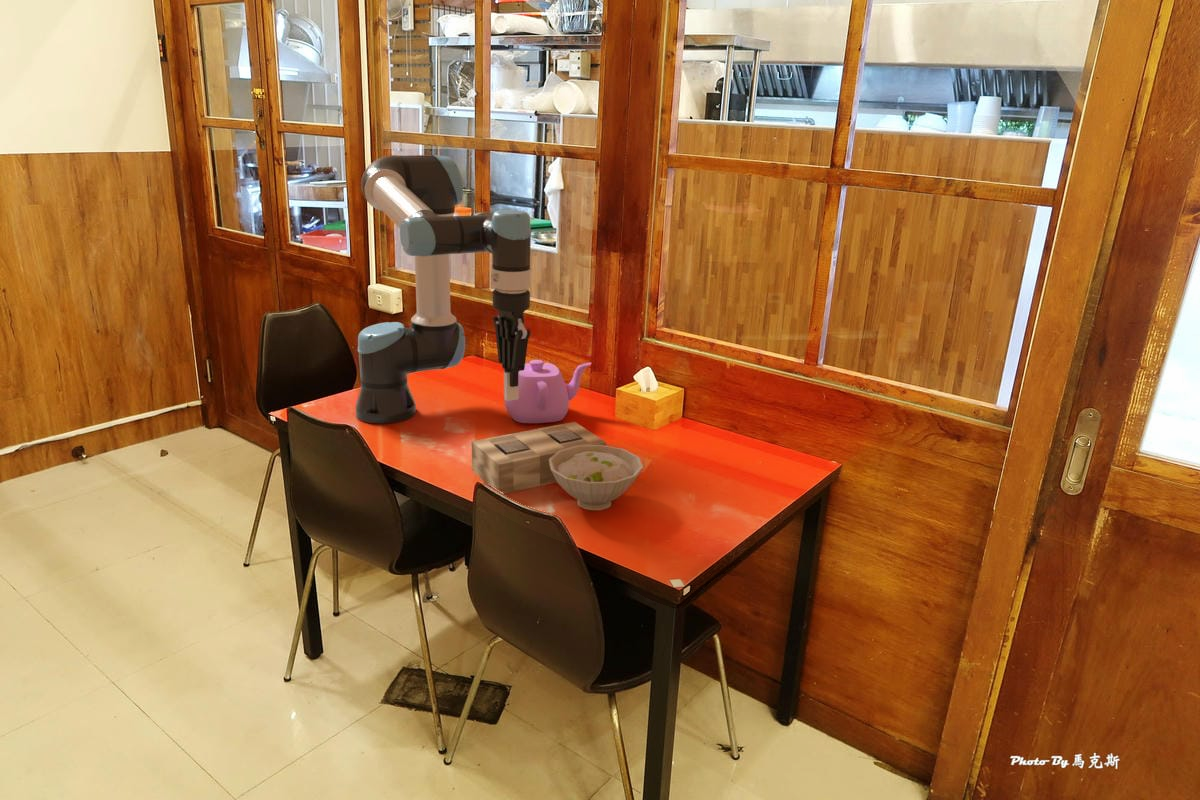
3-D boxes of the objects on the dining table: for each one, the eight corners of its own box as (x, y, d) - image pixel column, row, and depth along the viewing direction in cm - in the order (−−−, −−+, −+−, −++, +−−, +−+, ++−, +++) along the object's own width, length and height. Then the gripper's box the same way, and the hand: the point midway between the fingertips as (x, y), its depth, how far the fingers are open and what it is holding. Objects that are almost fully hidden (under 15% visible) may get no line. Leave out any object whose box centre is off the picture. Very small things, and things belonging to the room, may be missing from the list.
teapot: (511, 435, 197) (510, 377, 192) (501, 406, 216) (500, 352, 211) (600, 430, 202) (602, 373, 197) (583, 402, 221) (584, 349, 216)
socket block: (472, 470, 177) (471, 441, 174) (574, 449, 190) (574, 421, 187) (498, 495, 165) (498, 464, 163) (605, 471, 178) (606, 442, 176)
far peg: (549, 460, 181) (549, 433, 179) (568, 456, 184) (569, 430, 182) (560, 468, 177) (560, 441, 175) (579, 464, 180) (580, 437, 178)
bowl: (567, 532, 152) (568, 484, 148) (534, 489, 168) (534, 446, 165) (657, 515, 159) (660, 470, 156) (617, 476, 176) (619, 434, 172)
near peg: (497, 471, 175) (496, 444, 173) (517, 467, 177) (517, 440, 175) (506, 480, 171) (506, 452, 169) (527, 475, 173) (527, 448, 171)
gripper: (481, 284, 164) (482, 392, 172) (508, 298, 153) (508, 412, 162) (514, 281, 167) (513, 387, 176) (542, 294, 157) (541, 406, 165)
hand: (511, 399), depth 169 cm, fingers closed
